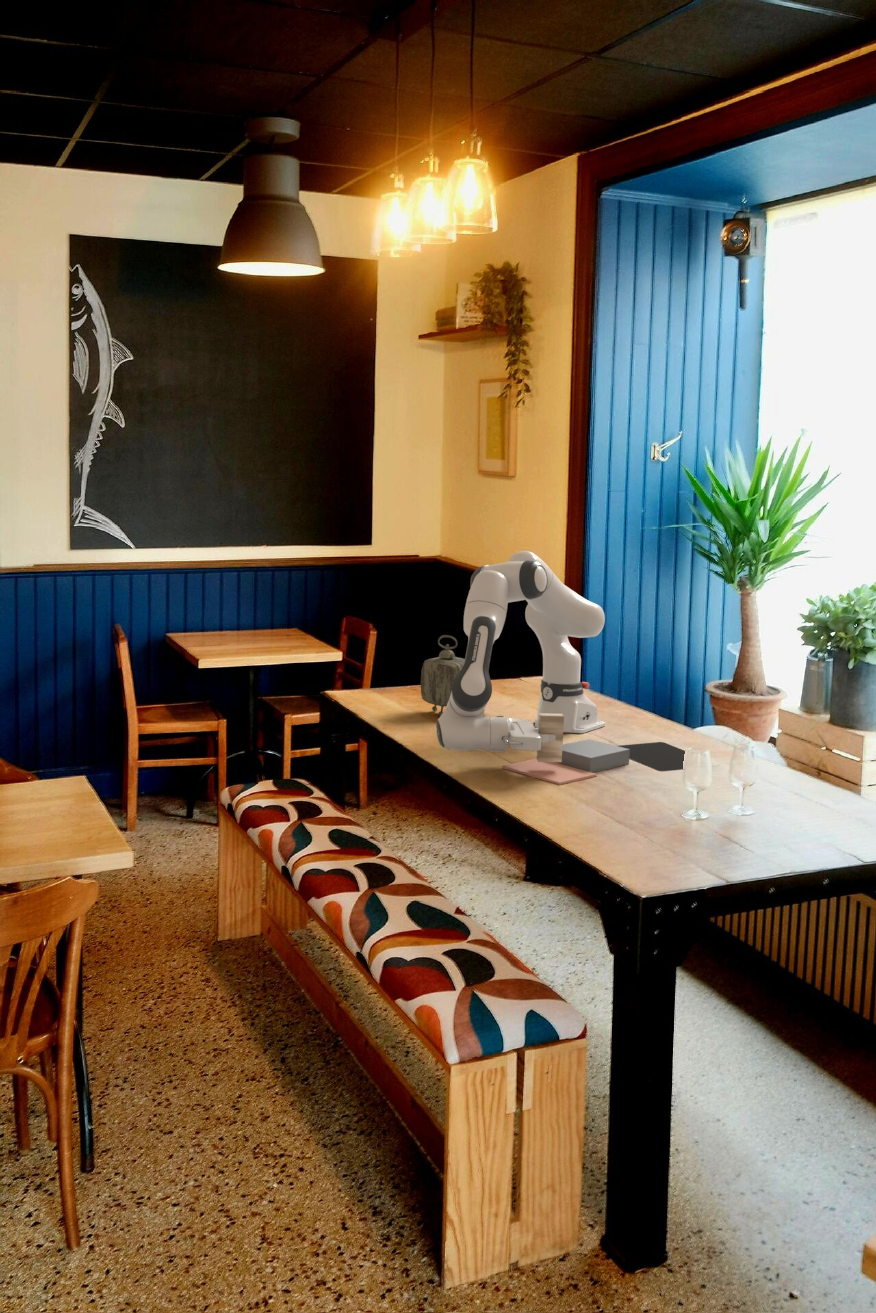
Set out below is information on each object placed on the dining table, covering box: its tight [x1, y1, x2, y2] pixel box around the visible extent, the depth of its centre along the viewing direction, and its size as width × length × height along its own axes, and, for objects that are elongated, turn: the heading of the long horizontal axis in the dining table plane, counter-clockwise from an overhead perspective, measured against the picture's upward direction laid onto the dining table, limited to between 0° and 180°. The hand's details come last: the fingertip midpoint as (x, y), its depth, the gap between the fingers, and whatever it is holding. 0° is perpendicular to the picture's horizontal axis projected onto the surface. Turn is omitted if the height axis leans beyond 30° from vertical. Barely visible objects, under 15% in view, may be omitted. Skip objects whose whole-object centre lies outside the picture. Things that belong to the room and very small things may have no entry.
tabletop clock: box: [420, 634, 465, 718], centre depth 376 cm, size 14×9×25 cm, turn 58°
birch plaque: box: [536, 713, 564, 762], centre depth 314 cm, size 3×6×12 cm, turn 94°
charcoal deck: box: [555, 738, 630, 773], centre depth 326 cm, size 16×14×4 cm
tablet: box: [618, 741, 686, 772], centre depth 336 cm, size 27×1×20 cm
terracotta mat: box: [501, 757, 598, 786], centre depth 316 cm, size 14×20×1 cm
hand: (553, 735), depth 314 cm, fingers closed on birch plaque, 3 cm apart
